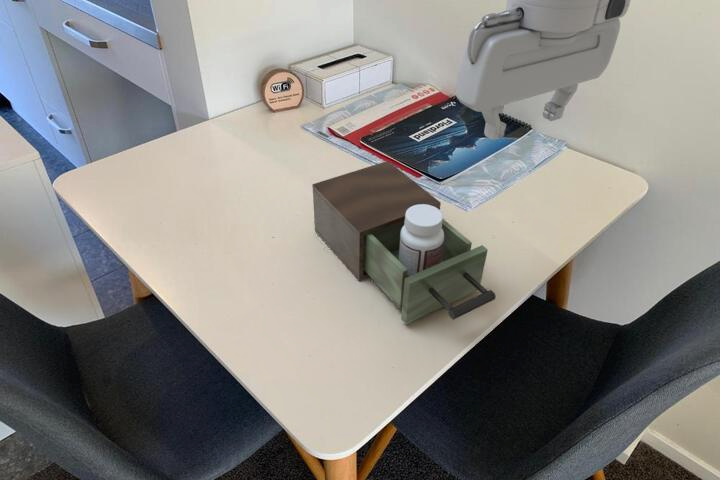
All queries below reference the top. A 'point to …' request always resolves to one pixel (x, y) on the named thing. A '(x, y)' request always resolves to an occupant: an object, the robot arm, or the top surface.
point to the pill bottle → (421, 238)
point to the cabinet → (363, 209)
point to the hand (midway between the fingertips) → (523, 127)
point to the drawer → (427, 274)
